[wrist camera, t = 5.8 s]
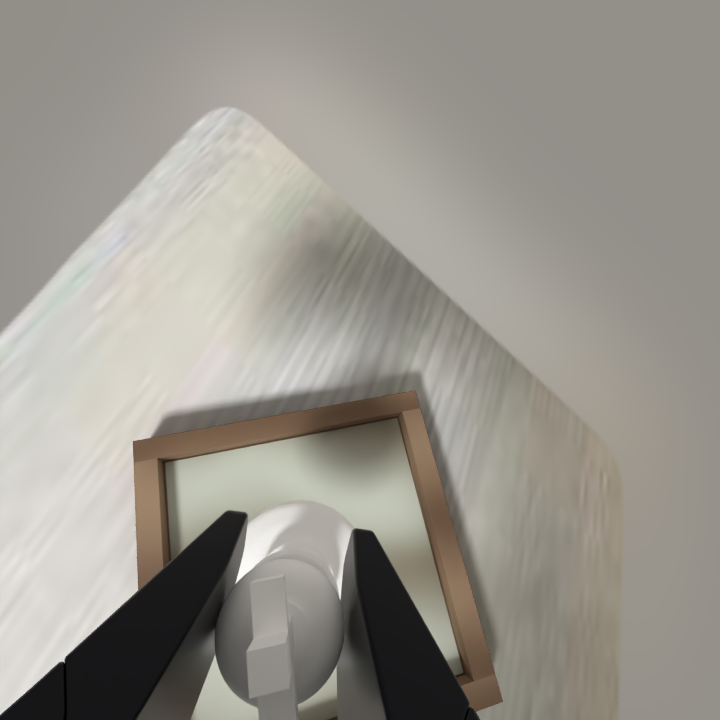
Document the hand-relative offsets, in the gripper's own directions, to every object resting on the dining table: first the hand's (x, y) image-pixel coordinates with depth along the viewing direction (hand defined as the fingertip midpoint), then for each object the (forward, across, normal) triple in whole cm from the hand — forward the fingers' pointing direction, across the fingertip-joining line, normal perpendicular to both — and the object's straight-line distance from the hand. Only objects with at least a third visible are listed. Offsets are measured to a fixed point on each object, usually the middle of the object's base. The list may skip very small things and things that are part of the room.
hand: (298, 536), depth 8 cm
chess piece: (+4, 0, +6) cm, 7 cm away
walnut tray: (+9, -1, +10) cm, 13 cm away
